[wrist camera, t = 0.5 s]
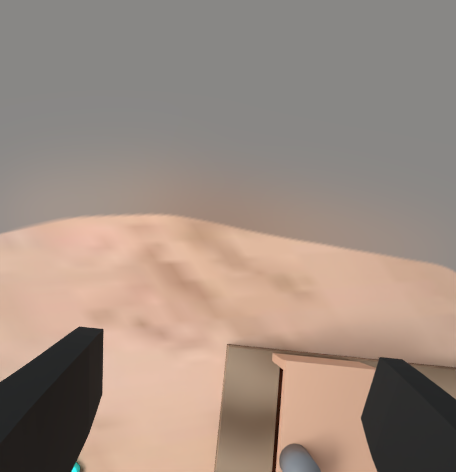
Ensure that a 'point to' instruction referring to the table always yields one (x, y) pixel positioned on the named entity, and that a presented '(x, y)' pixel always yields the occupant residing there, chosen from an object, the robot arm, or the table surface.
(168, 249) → the table surface
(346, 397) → the slide cover
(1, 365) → the table surface
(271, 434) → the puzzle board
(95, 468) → the table surface
